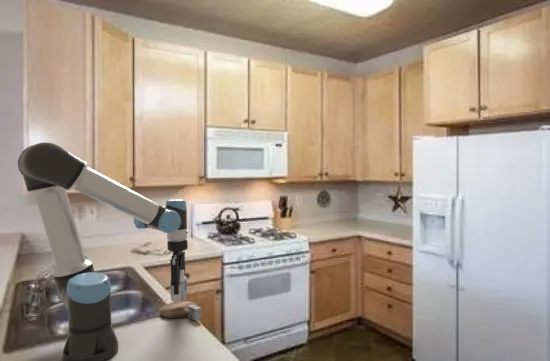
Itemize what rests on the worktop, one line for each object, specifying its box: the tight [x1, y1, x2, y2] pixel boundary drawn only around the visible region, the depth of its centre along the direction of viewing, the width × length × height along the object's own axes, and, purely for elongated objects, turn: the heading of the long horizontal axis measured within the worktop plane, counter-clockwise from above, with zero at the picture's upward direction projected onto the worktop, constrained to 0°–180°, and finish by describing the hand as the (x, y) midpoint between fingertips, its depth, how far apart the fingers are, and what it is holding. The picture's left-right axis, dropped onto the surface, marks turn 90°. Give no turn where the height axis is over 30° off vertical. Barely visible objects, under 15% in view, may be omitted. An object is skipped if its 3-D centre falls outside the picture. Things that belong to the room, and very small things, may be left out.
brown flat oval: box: [159, 300, 202, 321], centre depth 145 cm, size 20×14×4 cm
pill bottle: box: [170, 269, 188, 302], centre depth 147 cm, size 6×6×11 cm
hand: (179, 298), depth 147 cm, fingers closed on pill bottle, 6 cm apart
